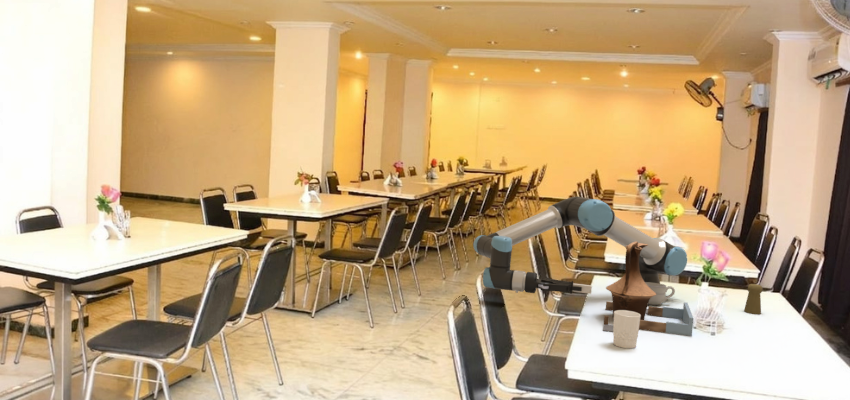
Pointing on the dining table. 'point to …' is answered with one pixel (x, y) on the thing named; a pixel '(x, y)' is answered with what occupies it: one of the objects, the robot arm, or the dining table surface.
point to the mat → (608, 328)
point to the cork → (753, 299)
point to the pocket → (679, 314)
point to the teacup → (659, 293)
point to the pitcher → (631, 285)
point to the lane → (643, 323)
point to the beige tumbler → (626, 328)
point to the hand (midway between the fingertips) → (591, 289)
